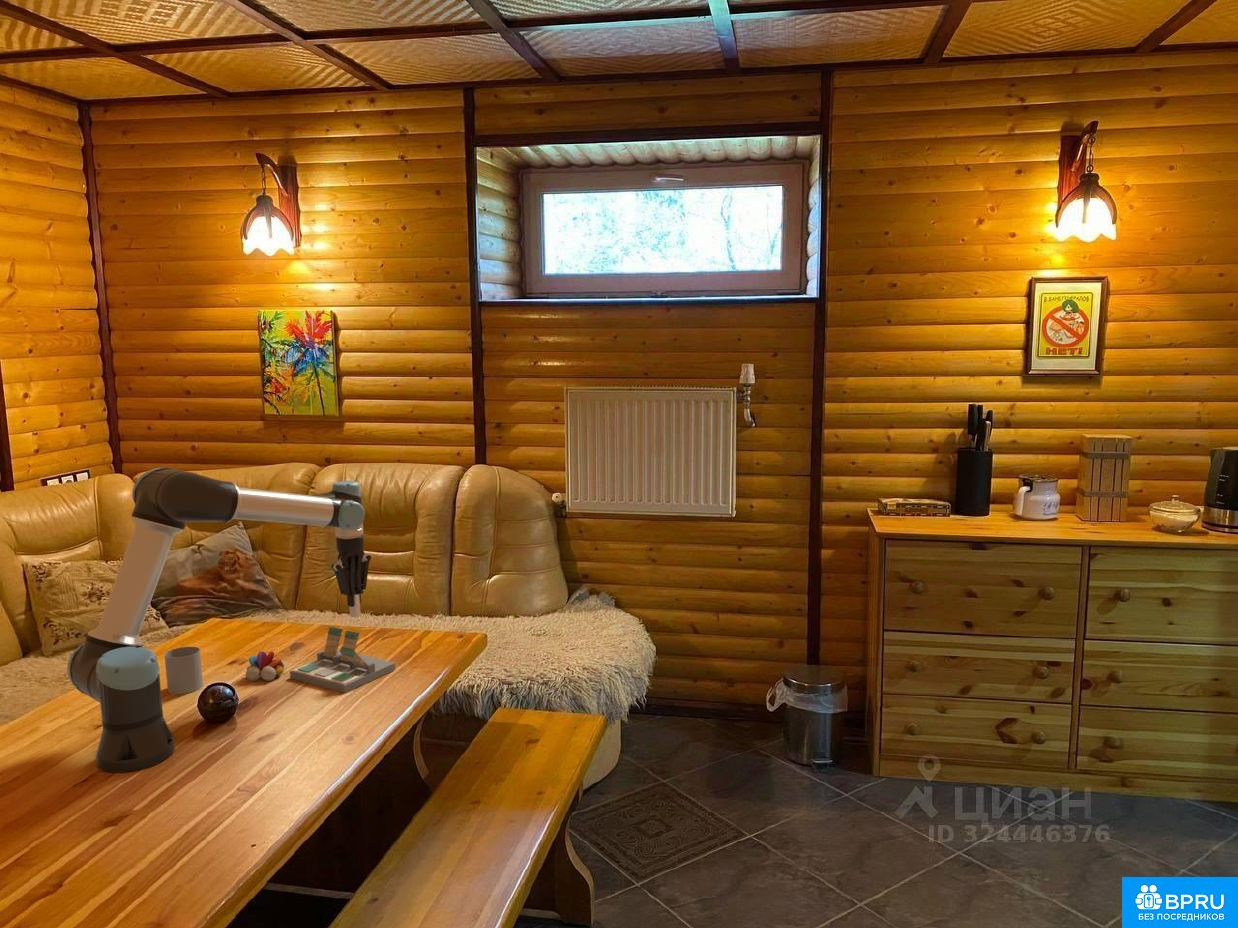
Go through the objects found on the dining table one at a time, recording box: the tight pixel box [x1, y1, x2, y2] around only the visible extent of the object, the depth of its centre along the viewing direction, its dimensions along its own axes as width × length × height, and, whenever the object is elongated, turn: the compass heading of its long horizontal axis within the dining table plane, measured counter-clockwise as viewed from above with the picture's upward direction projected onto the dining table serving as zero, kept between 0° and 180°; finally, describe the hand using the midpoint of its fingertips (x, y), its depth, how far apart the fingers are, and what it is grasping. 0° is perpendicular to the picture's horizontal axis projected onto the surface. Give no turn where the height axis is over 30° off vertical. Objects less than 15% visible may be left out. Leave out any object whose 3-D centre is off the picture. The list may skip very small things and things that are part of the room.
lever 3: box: [339, 646, 367, 669], centre depth 234 cm, size 1×4×9 cm
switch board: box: [289, 650, 396, 694], centre depth 239 cm, size 18×21×4 cm
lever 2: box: [338, 630, 360, 665], centre depth 240 cm, size 1×4×9 cm, turn 60°
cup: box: [164, 646, 204, 696], centre depth 230 cm, size 8×8×10 cm
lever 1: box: [322, 626, 344, 661], centre depth 243 cm, size 1×4×9 cm, turn 60°
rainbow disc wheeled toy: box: [245, 650, 285, 682], centre depth 237 cm, size 8×10×7 cm
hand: (355, 616), depth 250 cm, fingers closed
